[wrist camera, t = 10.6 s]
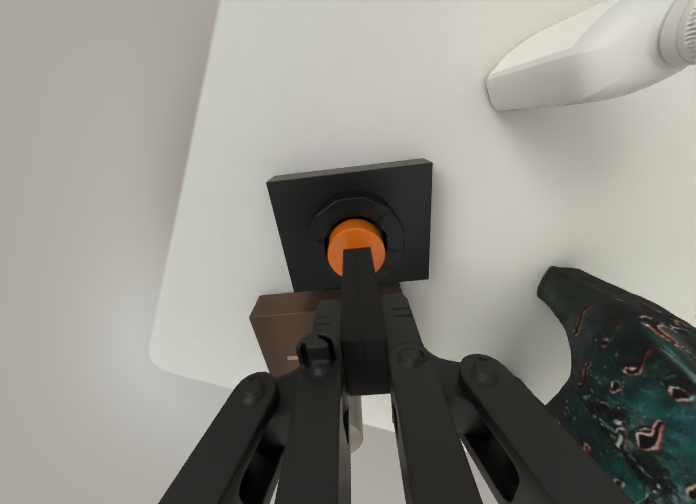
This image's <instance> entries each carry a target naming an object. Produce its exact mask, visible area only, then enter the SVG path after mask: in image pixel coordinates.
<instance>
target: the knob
mask: <svg viewBox="0 0 696 504" xmlns="http://www.w3.org/2000/svg"><path fill="white" fill-rule="evenodd" d="M348 404H349V410H350V453H352V452H354V451H355V450H357V449H358V448H359V447H360V446H361V444H362V441H363V426H362V406H361V396H349V392H348Z"/></svg>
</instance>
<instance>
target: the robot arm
mask: <svg viewBox="0 0 696 504" xmlns="http://www.w3.org/2000/svg"><path fill="white" fill-rule="evenodd" d="M295 349H296V353H297V356H298V360H299V363H300V366H299V367H298V368H297V369H295V370H294V371H292V372H289V373H287V374H284V375H282V376H279V377H276V378H274V377H273V376H272V374H270V373H267V372H257V373H254V374H251V375H249V376H247V377H246V378H244V379H243V380H242V381H241V382H240V383H239V384H238V385H237V386H236V387H235V389H234V390H233V392H232V393H231V395H230V396H229V398H228V399H227V401H226V403H225V404H224V405H223V407H222V408H221V410H220V412H219V413H218V414H217V416H216V417H215V419H214V421H213V422H212V424H211V425H210V427H209V428H208V429H207V431H206V433H205V434H204V436H203V437H202V438H201V440H200V441H199V443H198V444H197V446H196V448H195V449H194V450H193V452H192V453H191V455H190V456H189V458H188V460H187V461H186V463H185V464H184V466H183V467H182V469H181V470H180V472H179V473H178V475H177V476H176V478H175V479H174V481H173V482H172V484H171V485H170V487H169V488H168V490H167V491H166V493H165V494H164V496H163V497H162V499H161V500H160V502H159V503H158V504H270V501H271V498H272V495H273V493H274V490H275V488H276V485H277V483H278V488H277V493H276V499H275V503H274V504H351V464H350V463H351V460H350V456H351V455H350V410H349V404H348V392H349V396H361V395H374V394H388V393H390V394H391V402H392V419H393V423H394V427H395V433H396V440H397V446H398V453H399V460H400V467H401V473H402V480H403V486H404V493H405V500H406V504H483V502H482V500H481V497H480V494H479V491H478V488H477V485H476V482H475V480H474V477H473V474H472V471H471V468H470V465H469V463H468V460H467V457H466V454H465V451H464V448H463V445H462V443H461V441H462V442H463V444H464V446H465V447H466V449H467V451H468V452H469V454H470V456H471V457H472V459H473V461H474V463H475V464H476V466H477V468H478V470H479V471H480V473H481V474H482V476H483V478H484V479H485V481H486V483H487V485H488V487H489V488H490V490H491V492H492V494H493V495H494V497H495V498H496V500H497V502H498V504H635V503H634V502H633V501H632V500H631V498H630V497H629V496H628V495H627V494H626V493H625V492H624V491H623V490H622V489H621V488H620V487H619V486H618V485H617V484H616V483H615V482H614V481H613V480H612V479H611V477H610V476H609V475H608V474H607V473H606V472H605V471H604V470H603V469H602V468H601V467H600V466H599V465H598V464H597V463H596V462H595V461H594V460H593V459H592V458H591V456H590V455H589V454H588V453H587V452H586V451H585V450H584V449H583V448H582V447H581V446H580V445H579V444H578V443H577V442H576V441H575V440H574V439H573V438H572V437H571V436H570V434H569V433H568V432H567V431H566V430H565V429H564V428H563V427H562V426H561V425H560V424H559V423H558V422H557V421H556V420H555V419H554V418H553V417H552V416H551V415H550V413H549V412H548V411H547V410H546V409H545V408H544V407H543V406H542V405H541V404H540V403H539V402H538V401H537V400H536V399H535V398H534V397H533V396H532V395H531V394H530V393H529V391H528V390H527V389H526V388H525V387H524V386H523V385H522V384H521V383H520V382H519V381H518V380H517V379H516V378H515V377H514V376H513V375H512V374H511V373H510V372H509V370H508V369H507V368H506V367H505V366H504V365H502V364H501V363H500V362H499V361H497V360H496V359H494V358H491V357H489V356H487V355H481V354H472V355H468V356H466V357H465V358H463V359H462V361H461V363H460V362H454V361H449V360H445V359H441V358H438V357H436V356H434V355H433V354H431V353H430V352H429V351H428V350H427V349H426V348H425V347H424V345H423V343H422V341H421V338H420V335H419V332H418V329H417V326H416V323H415V320H414V317H413V315H412V311H411V309H410V305H409V302H408V299H407V298H406V297H405V296H404V295H403V294H402V293H401V292H392V293H382V294H379V291H378V285H377V280H376V274H375V269H374V263H373V258H372V252H371V247H362V248H352V249H343V266H342V292H341V298H336V299H325V300H321V302H320V303H319V304H318V306H317V307H316V311H315V318H314V323H313V329H312V333H310V334H308V335H306V336H304V337H303V338H302V339H301V340H300V341H299V342H298V344H297V346H296V348H295ZM460 439H461V440H460ZM278 480H279V482H278Z"/></svg>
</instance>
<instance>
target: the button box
mask: <svg viewBox="0 0 696 504" xmlns="http://www.w3.org/2000/svg"><path fill="white" fill-rule="evenodd" d="M432 166H433V163H432V162H430V161H428V160H426V159H423V158H422V159H414V160H406V161H397V162H389V163H380V164H372V165H364V166H355V167H347V168H339V169H330V170H322V171H313V172H305V173H297V174H288V175H280V176H274V177H273V178H271V179H270V180H269V181H267V182H266V184H267V188H268V192H269V196H270V200H271V203H272V207H273V211H274V215H275V219H276V223H277V227H278V231H279V235H280V239H281V242H282V246H283V250H284V254H285V258H286V262H287V266H288V270H289V274H290V278H291V281H292V285H293V289H294V292H301V291H311V290H321V289H332V288H342V276H341V275H339V274H338V273H336V272H335V271H334V270H333V268H332V267H331V265H330V263H329V261H328V246H329V240H330V236H331V233H332V232H333V230H334V229H335V228H336V227H337V226H338V225H339V224H340V223H342V222H344V221H347V220H350V219H362V220H365V221H368V222H370V223H371V224H373V225H374V226H375V227H376V228H377V229H378V231H379V232H380V235H381V238H382V241H383V244H384V248H385V259H384V262H383V264H382V266H381V267H380V269H379V270H378V271H377V272H376V273H375V274H376V280H377V284H383V283H394V282H404V281H414V280H425V279H428V278H429V250H430V222H431V194H432Z"/></svg>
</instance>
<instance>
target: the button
mask: <svg viewBox="0 0 696 504" xmlns="http://www.w3.org/2000/svg"><path fill="white" fill-rule="evenodd" d="M362 247H371V252H372V258H373V263H374V269H375V273H376V272H377V271H378V270H379V269H380V267H381V266H382V264H383V262H384V259H385V248H384V244H383V241H382V238H381V235H380V232H379V231H378V229H377V228H376V227H375V226H374V225H373V224H371V223H370V222H368V221H365V220H362V219H350V220H347V221H344V222H342V223H340V224H339V225H338V226H337V227H336V228H335V229H334V230H333V232H332V233H331V236H330V240H329V246H328V261H329V263H330V265H331V267H332V268H333V270H334V271H335V272H336V273H338V274H339V275H341V276H342V266H343V249H352V248H362Z"/></svg>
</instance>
